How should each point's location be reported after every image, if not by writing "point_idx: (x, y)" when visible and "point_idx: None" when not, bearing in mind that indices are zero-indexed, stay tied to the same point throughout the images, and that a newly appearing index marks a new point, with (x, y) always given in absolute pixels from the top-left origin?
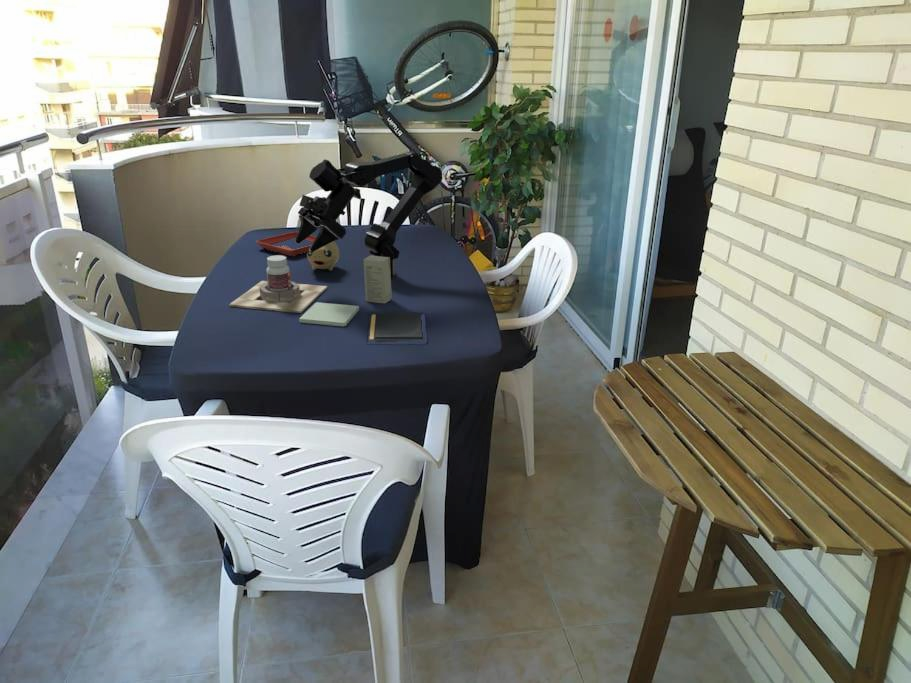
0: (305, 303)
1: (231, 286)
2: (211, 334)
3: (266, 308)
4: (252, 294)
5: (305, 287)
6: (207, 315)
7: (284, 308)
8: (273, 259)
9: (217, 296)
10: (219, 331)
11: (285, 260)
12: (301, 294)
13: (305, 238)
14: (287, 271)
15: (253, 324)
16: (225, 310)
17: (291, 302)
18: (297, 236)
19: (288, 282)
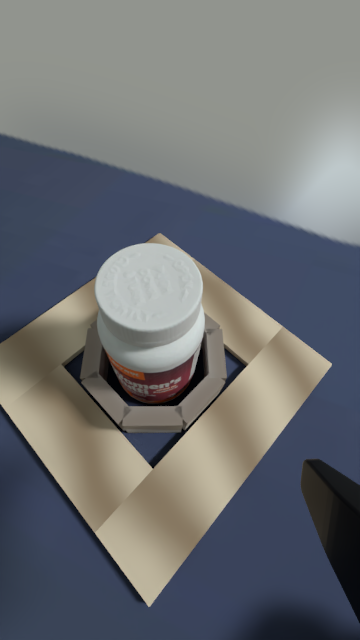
0: (19, 406)
1: (318, 282)
2: (26, 176)
3: (75, 293)
4: (205, 297)
5: (185, 487)
6: (132, 194)
7: (30, 330)
8: (133, 262)
9: (248, 236)
10: (29, 188)
11: (105, 318)
12: (115, 433)
13: (355, 611)
14: (103, 346)
15: (8, 243)
16: (140, 225)
17: (63, 368)
18: (358, 493)
19: (113, 367)
